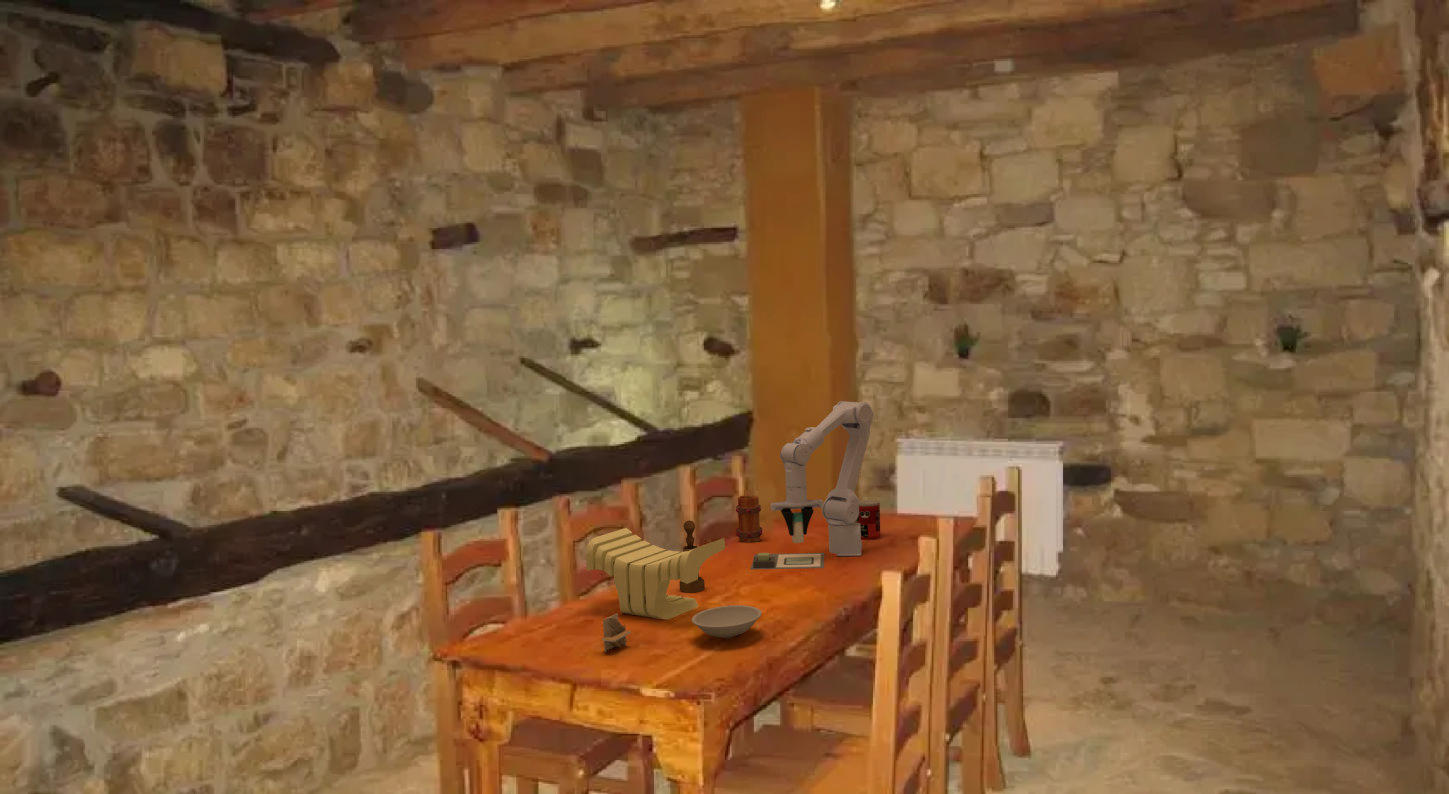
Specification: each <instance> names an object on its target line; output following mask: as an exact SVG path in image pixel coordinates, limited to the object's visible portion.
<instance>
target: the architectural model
mask: <svg viewBox="0 0 1449 794" xmlns="http://www.w3.org/2000/svg"><path fill="white" fill-rule="evenodd" d="M618 613H619V612H618ZM618 613H614V614H613V615H611V616H610V615H609V616H608V617H606V618H604V619H602V626H603V638H601V641H603V647H604V648H603V649H604V650H603V651H604V652H607V650H608V651H609V649H610V650H611V649H614V648H622V645H623V646H627V636H629V635H630V634H631V633H632V631H631V630H626V623H624V624H622V623H621V622H620V620H619V614H618Z"/></svg>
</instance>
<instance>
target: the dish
mask: <svg viewBox="0 0 1449 794" xmlns="http://www.w3.org/2000/svg"><path fill="white" fill-rule="evenodd" d="M762 614H763V613H762V610H761V609H760V608H759V607H758V608H757V607H755V606H750V605H744V604H743V605H742V604H741V605H739V604H735V605H733V604H732V605H722V606H717V607H711V608H708V609H705V610H702V611H700V612H698V613H696V614H694V615H693V616H692V618H691V622H692V624H693V625H695V626H697V627H698V629H699V630H701V631H702V632H703V633H705V634H707V635H709V636H710V637H711V636H712V637H714V638H715V637H716V638H724V639H732V638H733V637H736V636H739V635H741V634H744V633H745V632H747V631H748V630H750V629H751V628H752V627H753V626H754V624H755V623H756V622H757V620H758V619H760V618H761V616H762Z"/></svg>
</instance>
